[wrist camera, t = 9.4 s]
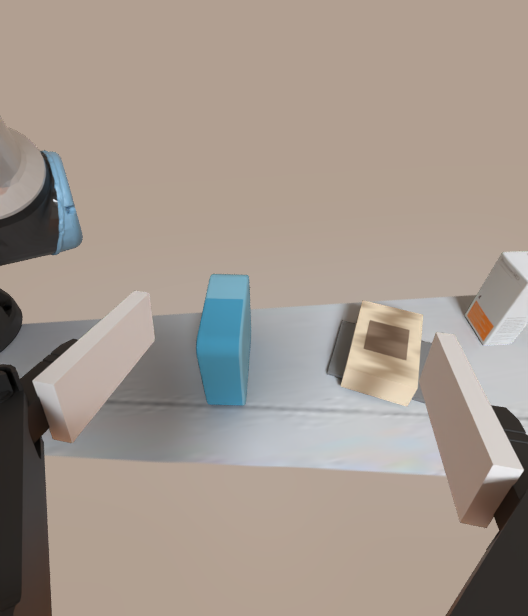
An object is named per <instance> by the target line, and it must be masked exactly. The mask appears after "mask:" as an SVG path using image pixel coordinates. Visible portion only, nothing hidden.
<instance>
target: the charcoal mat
mask: <svg viewBox="0 0 528 616" xmlns="http://www.w3.org/2000/svg"><path fill="white" fill-rule="evenodd" d="M355 327H356V324H354V323H350V322H347V321H343V320H342V324H341V327H340V331H339V334H338V338H337V341H336V345H335V348H334V351H333V355H332V358H331V362H330V365H329V369H328V372H327V374H329V375H332V376H335V377H339V378H342V379H343V375H344V371H345V367H346V363H347V359H348V355H349V351H350V347H351V343H352V339H353V335H354V331H355ZM431 345H432V343H428V342H424V341H421V349H420V363H419V376H418V389H417V390H416V392H415V394H414V396H413V397H412V400H416V401H419V402H422V403H425V401H424V397H423V394H422V390H421V387H420V383H419V379H420V376H421V374H422V371H423V368H424V365H425V362H426V359H427V356H428V354H429V351H430V348H431Z"/></svg>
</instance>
